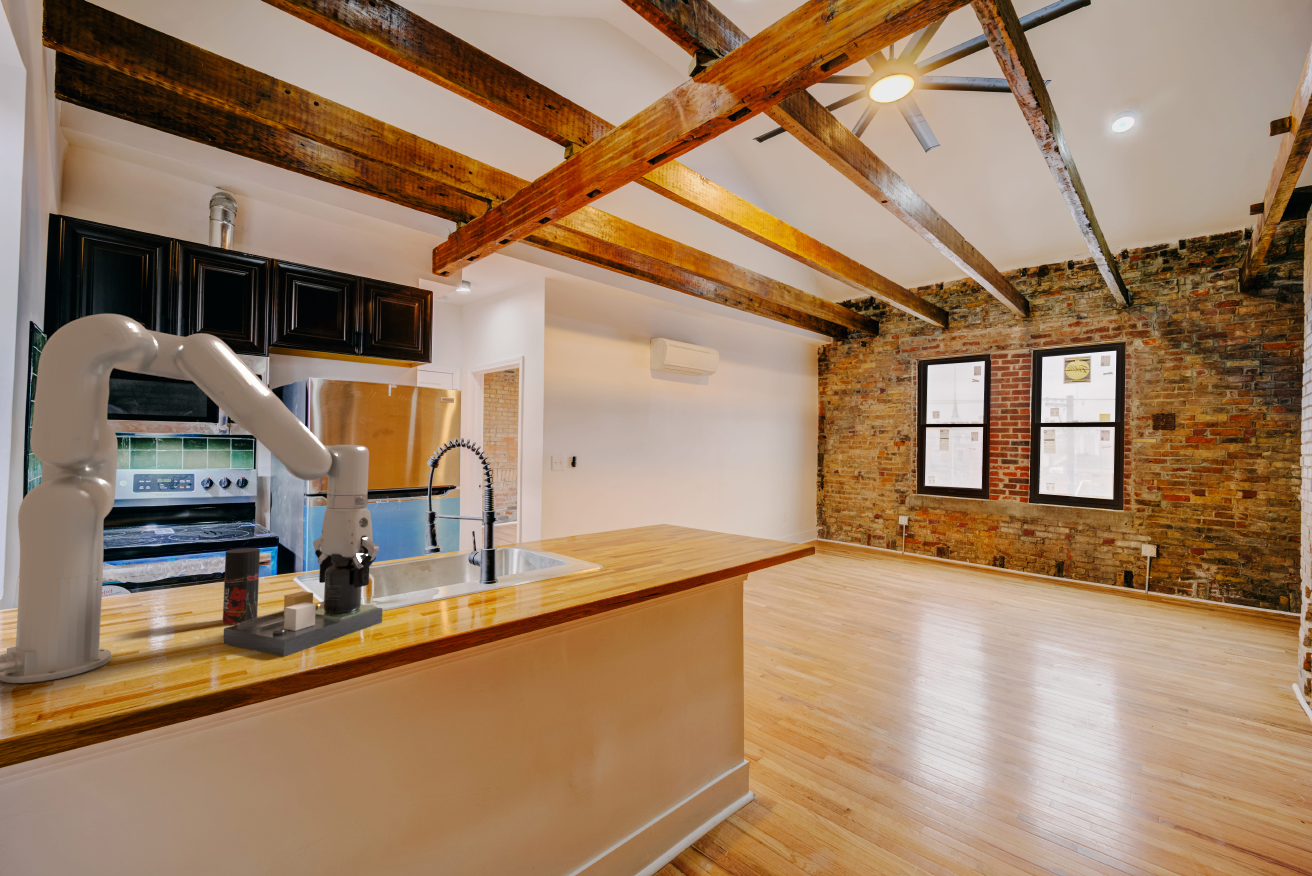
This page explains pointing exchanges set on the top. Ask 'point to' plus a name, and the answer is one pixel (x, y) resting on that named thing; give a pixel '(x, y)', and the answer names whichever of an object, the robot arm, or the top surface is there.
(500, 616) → the top surface
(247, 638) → the panel
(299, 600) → the block
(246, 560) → the deodorant
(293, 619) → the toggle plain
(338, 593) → the supplement bottle
